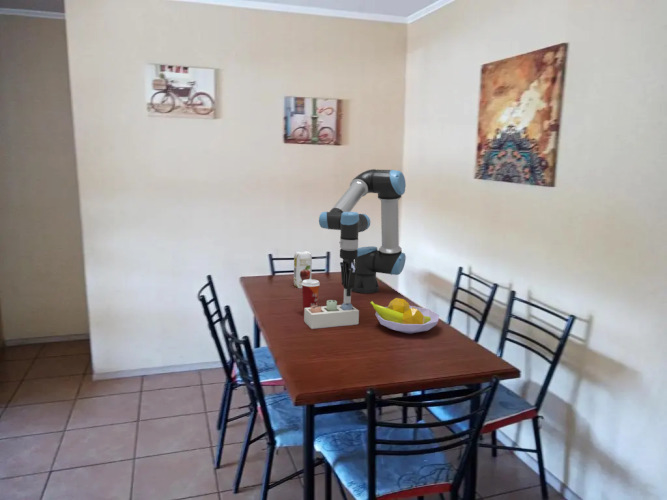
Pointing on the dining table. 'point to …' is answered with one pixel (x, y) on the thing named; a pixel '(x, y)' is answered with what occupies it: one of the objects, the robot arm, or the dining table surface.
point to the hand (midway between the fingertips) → (347, 302)
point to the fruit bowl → (405, 316)
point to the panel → (331, 317)
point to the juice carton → (302, 267)
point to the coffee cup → (310, 292)
